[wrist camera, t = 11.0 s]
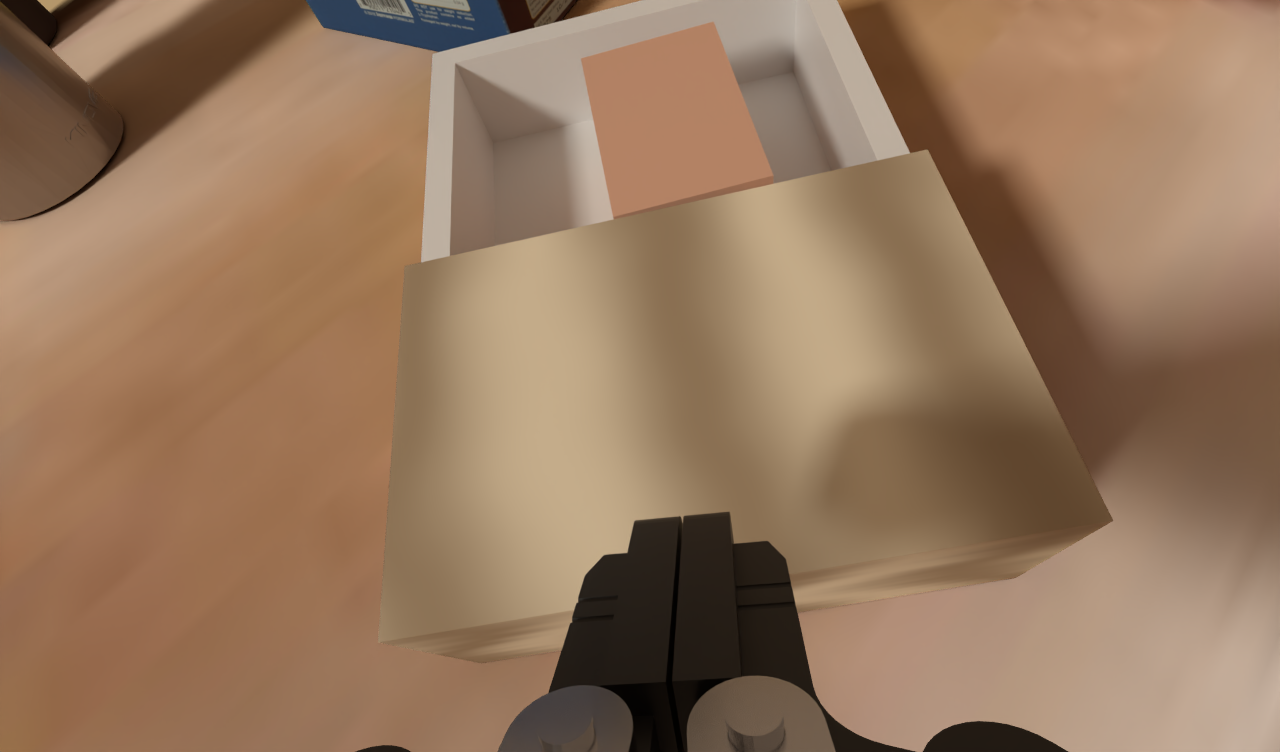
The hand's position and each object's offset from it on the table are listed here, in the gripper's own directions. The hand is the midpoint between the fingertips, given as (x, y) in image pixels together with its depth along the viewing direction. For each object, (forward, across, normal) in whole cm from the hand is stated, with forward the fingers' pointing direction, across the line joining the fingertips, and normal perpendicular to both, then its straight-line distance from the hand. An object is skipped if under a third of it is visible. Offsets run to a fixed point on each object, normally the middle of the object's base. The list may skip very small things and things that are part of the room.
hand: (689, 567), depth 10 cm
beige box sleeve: (+11, 0, +3) cm, 12 cm away
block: (+13, 0, -4) cm, 14 cm away
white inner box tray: (+20, +1, -5) cm, 20 cm away
